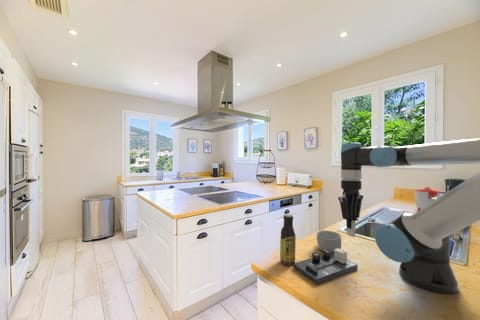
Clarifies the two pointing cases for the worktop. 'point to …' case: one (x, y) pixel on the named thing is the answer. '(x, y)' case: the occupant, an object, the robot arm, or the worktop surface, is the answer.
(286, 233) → the sauce bottle
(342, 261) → the fader
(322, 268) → the board
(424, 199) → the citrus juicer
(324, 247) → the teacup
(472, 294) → the worktop surface
